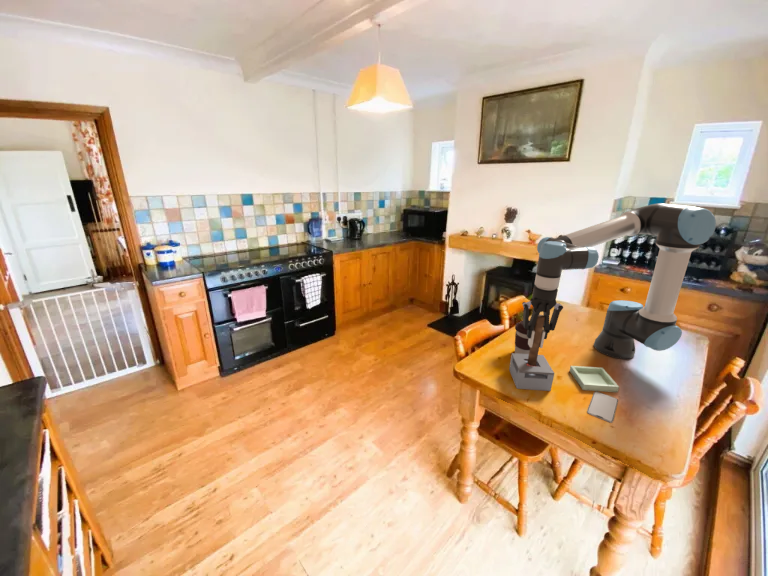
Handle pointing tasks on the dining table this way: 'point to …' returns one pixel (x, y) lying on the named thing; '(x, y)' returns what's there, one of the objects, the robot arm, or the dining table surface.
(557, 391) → the dining table surface
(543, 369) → the grey slotted box
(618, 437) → the dining table surface
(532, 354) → the brown wooden bar
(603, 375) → the tray
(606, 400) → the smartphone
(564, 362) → the dining table surface
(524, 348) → the coffee cup
